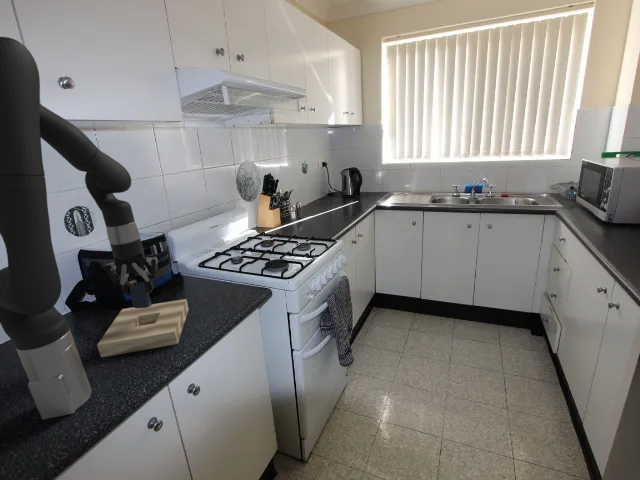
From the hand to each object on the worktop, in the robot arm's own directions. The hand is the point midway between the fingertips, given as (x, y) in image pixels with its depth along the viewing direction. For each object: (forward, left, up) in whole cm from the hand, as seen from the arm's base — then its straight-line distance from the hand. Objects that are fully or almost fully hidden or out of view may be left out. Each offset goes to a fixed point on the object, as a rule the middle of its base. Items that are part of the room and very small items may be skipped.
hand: (139, 293), depth 99 cm
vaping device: (0, 0, -5) cm, 5 cm away
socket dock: (0, 0, -13) cm, 13 cm away
